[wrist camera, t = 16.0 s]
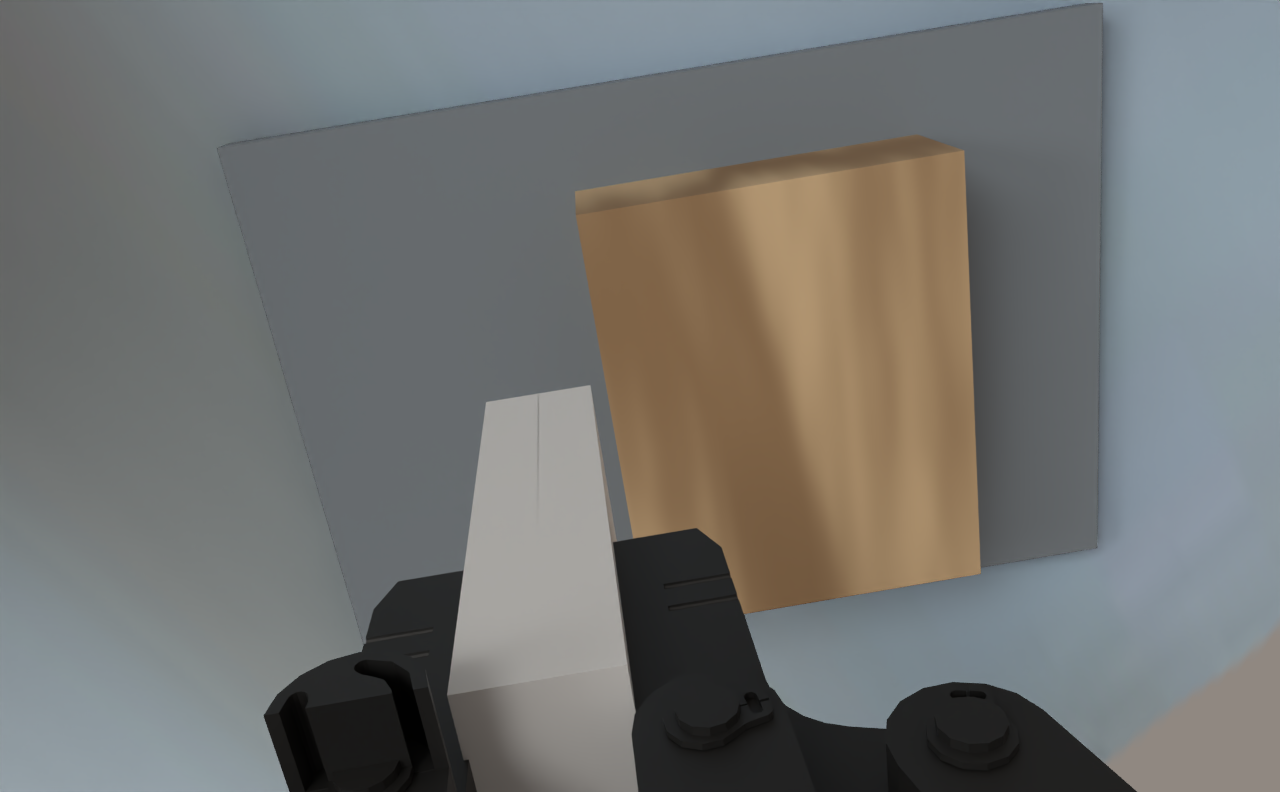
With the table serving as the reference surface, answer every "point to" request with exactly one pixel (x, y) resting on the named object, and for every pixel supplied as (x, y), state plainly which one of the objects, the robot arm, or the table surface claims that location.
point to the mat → (558, 288)
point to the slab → (795, 364)
